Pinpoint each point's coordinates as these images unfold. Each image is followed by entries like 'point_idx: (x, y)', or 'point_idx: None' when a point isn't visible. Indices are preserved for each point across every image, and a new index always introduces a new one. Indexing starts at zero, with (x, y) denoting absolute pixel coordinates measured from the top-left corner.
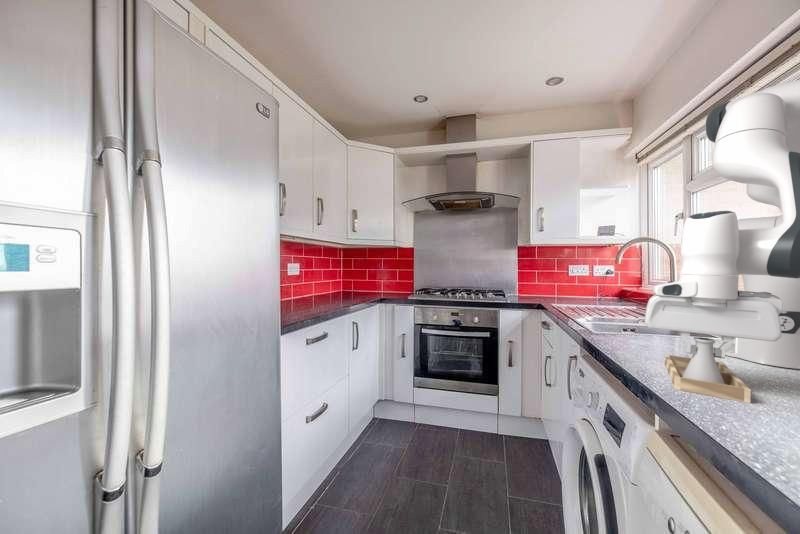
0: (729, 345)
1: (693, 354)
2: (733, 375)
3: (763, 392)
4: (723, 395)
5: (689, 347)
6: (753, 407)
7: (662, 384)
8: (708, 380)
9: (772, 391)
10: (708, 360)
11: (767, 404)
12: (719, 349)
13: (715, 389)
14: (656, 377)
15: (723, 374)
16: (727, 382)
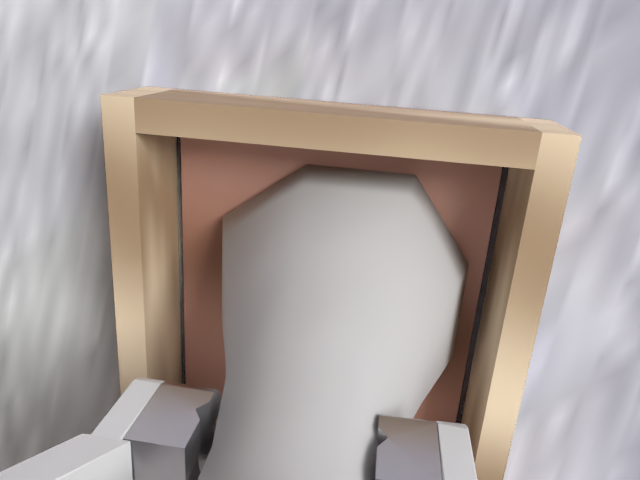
0: (5, 473)
1: None
2: None
3: (47, 362)
4: (270, 100)
5: (455, 468)
6: (146, 4)
7: (607, 201)
8: (325, 210)
9: (6, 403)
10: (289, 330)
11: (65, 130)
12: (143, 446)
13: (309, 106)
14: (592, 358)
15: None
16: None
